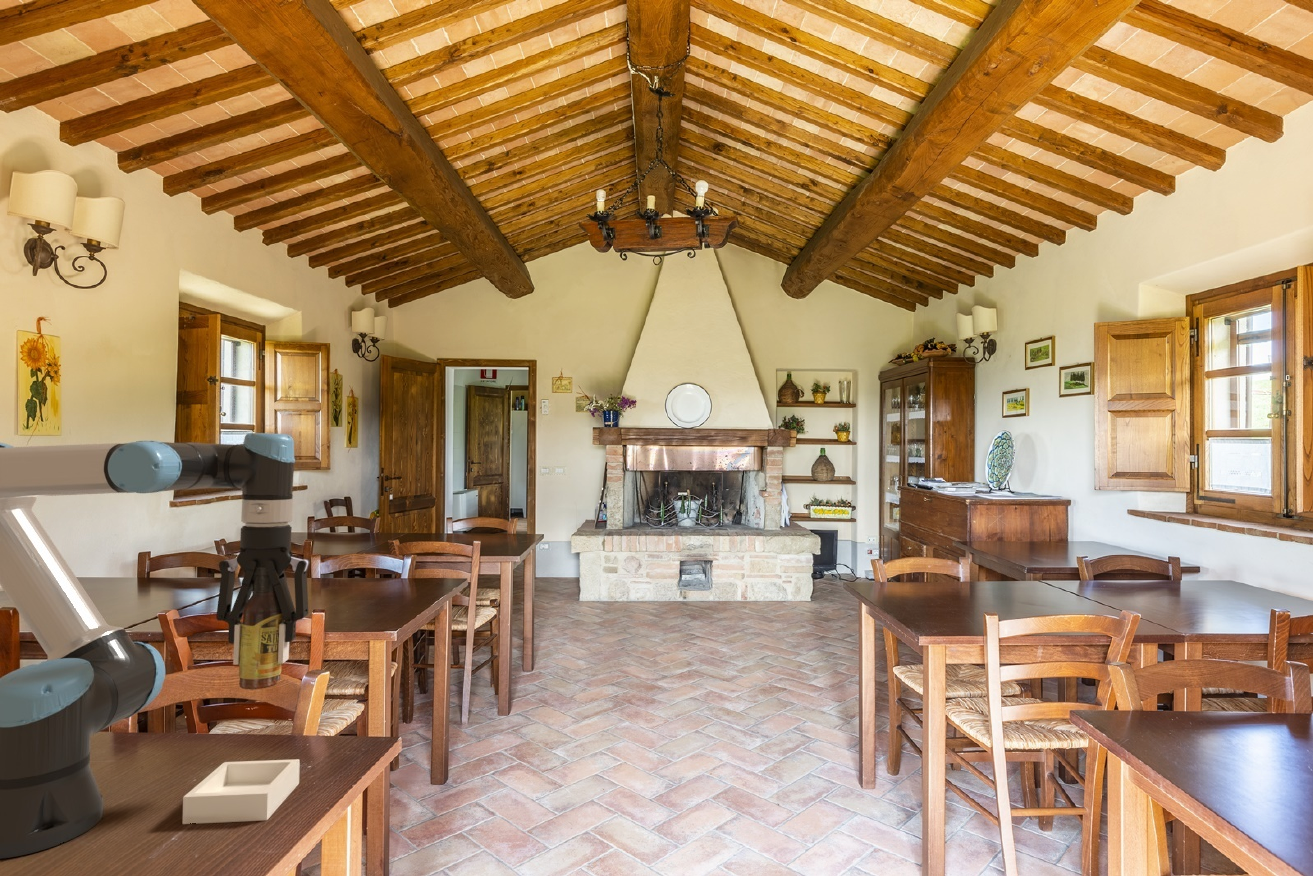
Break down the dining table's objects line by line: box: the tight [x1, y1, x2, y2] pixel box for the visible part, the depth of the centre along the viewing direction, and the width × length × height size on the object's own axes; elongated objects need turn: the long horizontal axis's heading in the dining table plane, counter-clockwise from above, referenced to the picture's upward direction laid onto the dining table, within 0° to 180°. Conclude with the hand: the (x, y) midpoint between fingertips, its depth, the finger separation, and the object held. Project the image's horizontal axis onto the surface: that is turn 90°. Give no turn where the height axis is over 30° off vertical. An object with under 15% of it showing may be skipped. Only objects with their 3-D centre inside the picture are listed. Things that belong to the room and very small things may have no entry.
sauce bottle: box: [238, 568, 284, 691], centre depth 117 cm, size 7×6×20 cm
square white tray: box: [182, 758, 301, 825], centre depth 110 cm, size 12×12×4 cm
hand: (261, 661), depth 117 cm, fingers closed on sauce bottle, 6 cm apart
